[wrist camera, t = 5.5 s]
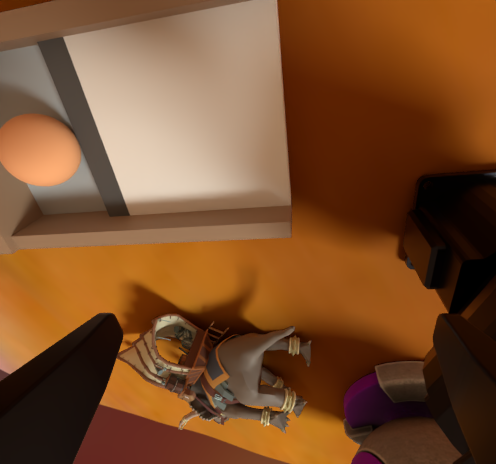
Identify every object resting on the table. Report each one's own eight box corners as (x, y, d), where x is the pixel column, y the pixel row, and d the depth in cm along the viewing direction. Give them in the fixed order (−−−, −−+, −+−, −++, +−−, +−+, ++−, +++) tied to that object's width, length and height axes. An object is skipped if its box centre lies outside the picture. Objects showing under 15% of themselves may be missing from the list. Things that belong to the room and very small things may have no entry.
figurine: (261, 475, 30) (95, 426, 30) (267, 410, 35) (125, 369, 34) (348, 373, 18) (74, 292, 18) (340, 297, 23) (125, 233, 23)
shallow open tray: (275, -28, 14) (268, -51, 10) (291, 208, 20) (291, 242, 16) (-57, 41, 17) (-143, 40, 14) (43, 224, 23) (0, 254, 20)
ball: (-41, 125, 14) (7, 116, 18) (3, 202, 16) (38, 180, 20) (45, 110, 15) (75, 104, 18) (78, 188, 17) (100, 169, 20)
